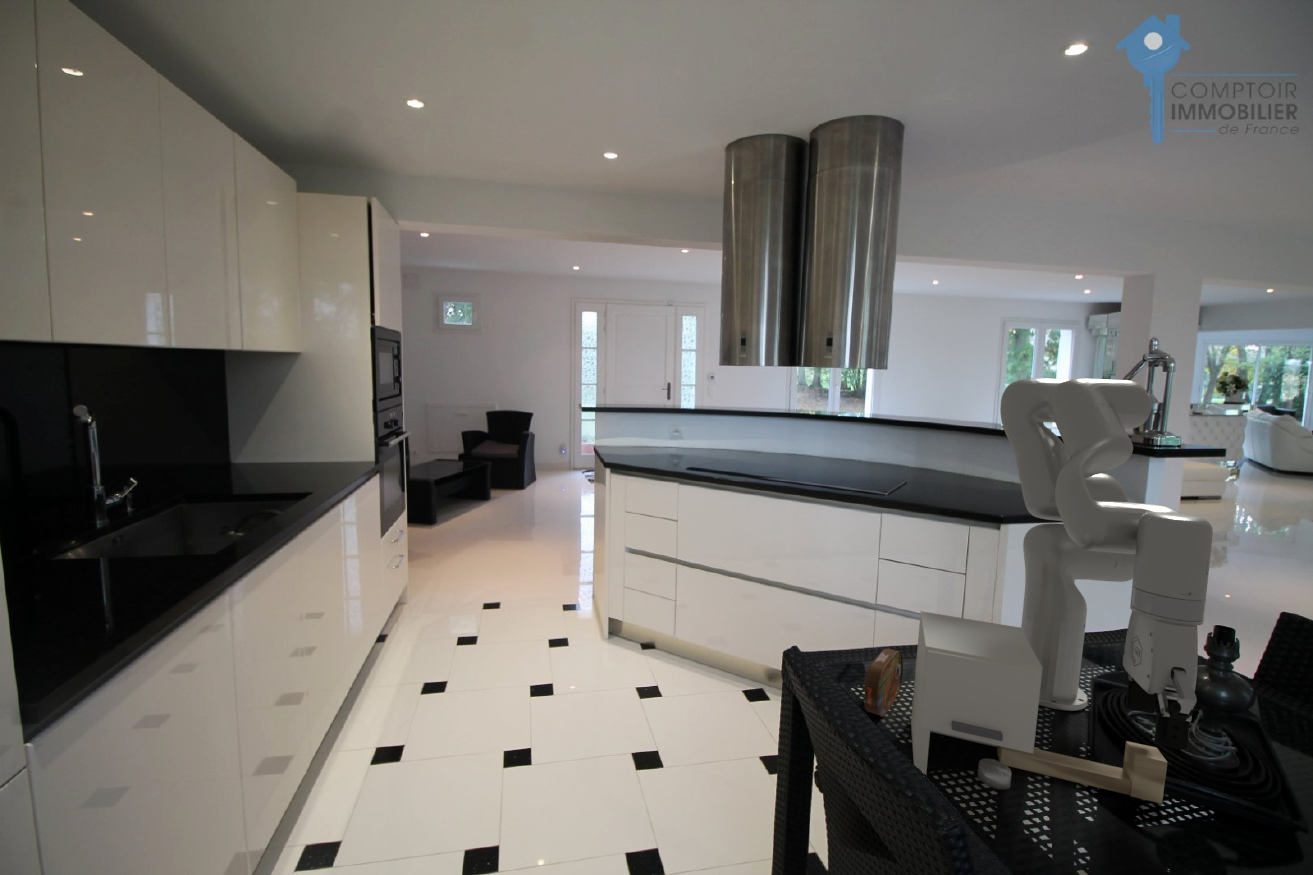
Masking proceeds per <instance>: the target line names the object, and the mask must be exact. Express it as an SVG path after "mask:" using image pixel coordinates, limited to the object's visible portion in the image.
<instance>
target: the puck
mask: <svg viewBox="0 0 1313 875" xmlns="http://www.w3.org/2000/svg"><path fill="white" fill-rule="evenodd" d="M1009 767H1010V766H1006V765H1005V764H1003V763H1001V762H1000V761H999V760H996V759H993V758H982V759H980V760H979V762H978V769H977V770H978V772H977V777H978V779H979V781H981V782H982V783H983V784H984V785H986V786H989V787H990V788H992V787H993V788H992V789H995V790H996V789H997V790H1000V791H1001V790H1002V791H1003V790H1004V791H1005V790H1008V789H1010V787H1011V782H1012V781H1011V780H1012V770H1011V768H1009Z"/></svg>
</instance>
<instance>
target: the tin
mask: <svg viewBox="0 0 1313 875" xmlns="http://www.w3.org/2000/svg"><path fill="white" fill-rule="evenodd" d="M903 672H904V658H903V654H902V652H901V651H900V650H895V649H890V648H884V649H882V650H881V651H880V652H879V654H877V656H876V657H875V658H874V660H873V661H872V662H871V663H870V665H869V666H868V668H867V671H866V674H865V679H864V685H863V686H864V703H863V704H864V705H863V706H864V709H865V710H866V711H867V712H868V713H871V714H873V715H877V716H880V717H885V716H886V714H887V713H888V711H889V710H890V708H891V707H892V706H893V704H894V703H895V701H896V700H897V698H898V696H899V693H900V691H901V686H902V682H903ZM896 697H897V698H896Z"/></svg>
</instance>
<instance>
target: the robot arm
mask: <svg viewBox="0 0 1313 875" xmlns="http://www.w3.org/2000/svg"><path fill="white" fill-rule="evenodd" d="M999 411H1000V419H1001V424H1002V427H1003V430H1004V432H1005V435H1006V437H1007V439H1008V442H1009V443H1010V445H1011V448H1012V450H1013V452H1014V456H1015V461H1016V466H1017V472H1018V476H1019V477H1018V478H1019V482H1020V488H1021V492H1022V497H1023V498H1022V499H1023V501H1024V505H1025V507H1026V508H1025V509H1027V511H1028V513H1029V514H1030V515H1031V516H1033V517H1035V518H1038V519H1043V520H1048V521H1060V522H1062V523H1058V522H1057V523H1042V524H1038V525H1034V526H1033V527H1031V528H1029V529H1028V530H1027V532H1026V533H1025V535H1024V538H1023V542H1022V543H1023V544H1022V545H1023V546H1022V547H1023V559H1024V569H1025V572H1024V576H1025V579H1024V585H1025V586H1024V593H1023V594H1024V596H1023V604H1022V605H1023V606H1022V613H1021V614H1022V616H1021V625H1020V628H1021V630H1022V631H1023V633H1024V635H1025V637H1026V639H1027V640H1028V642H1029V644H1030V646H1031V648H1032V649H1033V651H1034V653H1035V655H1036V657H1037V658H1038V660H1039V662H1040V664H1041V666H1042V667H1043V669H1042V678H1041V687H1040V696H1039V705H1038V706H1042V707H1044V708H1045V707H1046V708H1049V709H1052V710H1053V709H1055V710H1060V711H1070V712H1073V711H1079V710H1083V709H1086V707H1087V706H1088V701H1089V698H1088V695H1087V694H1086V693H1085V692H1084V691H1083V689H1081V688H1080V687H1079V685H1080V675H1081V666H1082V659H1083V651H1084V650H1083V649H1084V648H1083V647H1084V640H1085V632H1086V624H1087V613H1088V611H1087V610H1088V605H1087V602H1086V601H1087V600H1086V599H1085V597H1084V595H1083V594H1082V593H1081V591H1080V589H1079V588H1078V587H1077V585H1076V584H1075V581H1076V580H1082V581H1083V580H1087V581H1089V580H1090V581H1099V582H1100V581H1101V582H1114V583H1115V582H1116V583H1118V582H1119V583H1122V582H1124V583H1125V582H1129V581H1131V580H1132V586H1131V595H1130V596H1131V597H1130V606H1129V609H1130V610H1131V614H1130V617H1129V621H1128V625H1127V631H1126V638H1125V643H1124V650H1123V656H1122V666H1123V667H1124V670H1125V671H1126V673H1127V677H1128V681H1127V690H1126V691H1127V692H1126V701H1125V706H1126V708H1127V709H1128V710H1132V711H1136V712H1142V713H1147V714H1154V713H1155V710H1156V701H1157V700H1156V699H1158V705H1159V709H1160V712H1156V720H1155V729H1154V730H1155V731H1154V742H1155V743H1156V744H1157V745H1158V746H1162V747H1168V748H1171V749H1176V750H1181V751H1185V750H1187V749H1188V742H1189V740H1188V739H1189V733H1190V724H1191V721H1192V718H1193V717H1192V716H1193V714H1194V713H1195V711H1194V710H1195V708H1194V707H1195V706H1196V704H1197V701H1198V700H1197V695H1196V693H1195V691H1196V685H1197V676H1198V656H1199V651H1198V650H1199V649H1198V648H1199V646H1198V645H1199V642H1198V641H1199V637H1198V636H1199V635H1198V634H1199V633H1198V626H1202V625H1204V620H1205V612H1206V602H1207V601H1206V600H1207V591H1208V581H1209V572H1210V563H1211V552H1212V544H1213V534H1214V531H1213V527H1212V525H1211V523H1210V522H1209V521H1208V520H1207V519H1204V518H1202V517H1199V516H1195V515H1191V514H1185V513H1181V512H1179V511H1177V510H1176V509H1174V508H1171V507H1169V506H1165V505H1161V504H1155V503H1154V504H1153V503H1143V502H1142V503H1138V502H1137V503H1136V502H1129V498H1128V496H1127V493H1126V490H1125V489H1124V487H1123V485H1122V484H1121V483H1120V481H1119V480H1118V479H1116V478H1115V477H1114V476H1112V475H1110V474H1107V473H1105V472H1109V471H1111V470H1114V469H1115V468H1117V467H1119V466H1121V465H1123V464H1124V463H1125V462H1127V461H1128V460H1129V459H1130V458H1131V456H1132V453H1134V452H1133V450H1134V446H1133V442H1132V440H1131V438H1130V436H1129V434H1128V433H1127V431H1126V430H1128V429H1129V430H1131V429H1136V428H1139V427H1141V426H1142V425H1144V424H1145V423H1146V422H1147V421H1148V419H1149V417H1150V415H1151V411H1152V402H1151V397H1150V395H1149V393H1148V391H1147V390H1146V389H1145V388H1144V387H1143V386H1142V385H1141V384H1139V383H1138V382H1137V381H1134V380H1133V381H1132V380H1130V379H1129V380H1126V379H1109V378H1108V379H1107V378H1106V379H1105V378H1104V379H1103V378H1073V379H1067V378H1051V377H1050V378H1045V377H1043V378H1041V377H1038V378H1037V377H1036V378H1034V377H1033V378H1024V379H1019V380H1016V381H1014V382H1011V383H1010V384H1008V385H1007V387H1005V389H1004V391H1003V393H1002V394H1001V399H1000V410H999ZM1044 423H1055V425H1056V427H1057V430H1058V433H1059V435H1060V437H1061V439H1062V440H1061V439H1060V438H1059V437H1058V436H1057V435H1056V433H1054V432H1053V431H1052V430H1051V429H1050V428H1048V427H1047V426H1046V425H1045V424H1044ZM1168 690H1170V691H1168ZM1168 700H1174V701H1173V702H1172V703H1171V704H1170V705H1169V703H1168V702H1169V701H1168Z"/></svg>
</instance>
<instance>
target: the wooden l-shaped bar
mask: <svg viewBox="0 0 1313 875" xmlns="http://www.w3.org/2000/svg"><path fill="white" fill-rule="evenodd" d="M996 754H997V757H998V761H999V762H1001V763H1003V764H1005V765H1006V766H1008V767H1011V768H1015V769H1020V770H1024V771H1029V772H1030V773H1031V772H1033V773H1035V774H1039V775H1045V776H1049V777H1053V778H1058V779H1062V780H1065V781H1070V782H1074V783H1078V784H1082V785H1086V786H1089V787H1095V788H1098V789H1103V790H1107V791H1112V792H1116V793H1120V794H1123V795H1129V797H1133V798H1136V799H1140V800H1143V801H1149V802H1153V803H1156V804H1157V803H1158V804H1163V798H1164V791H1165V790H1164V789H1165V783H1166V776H1167V769H1168V761H1167V760H1166V758H1165V757H1164V756H1163V754H1162V753H1161V751H1160V750H1159V748H1158V747H1155V746H1152V745H1151V746H1150V745H1146V744H1140V743H1137V742H1133V741H1127V740H1126V741H1125V748H1124V756H1123V766H1122V767H1117V766H1114V765H1113V766H1112V765H1109V764H1105V763H1101V762H1096V761H1091V760H1088V759H1082V758H1078V757H1076V756H1075V757H1073V756H1070V755H1065V754H1060V753H1057V752H1053V751H1047V750H1043V749H1038V748H1035V747H1034V751H1033V754H1032V753H1028V752H1023V751H1019V750H1015V749H1010V748H1006V747H1001V746H997V747H996Z"/></svg>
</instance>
